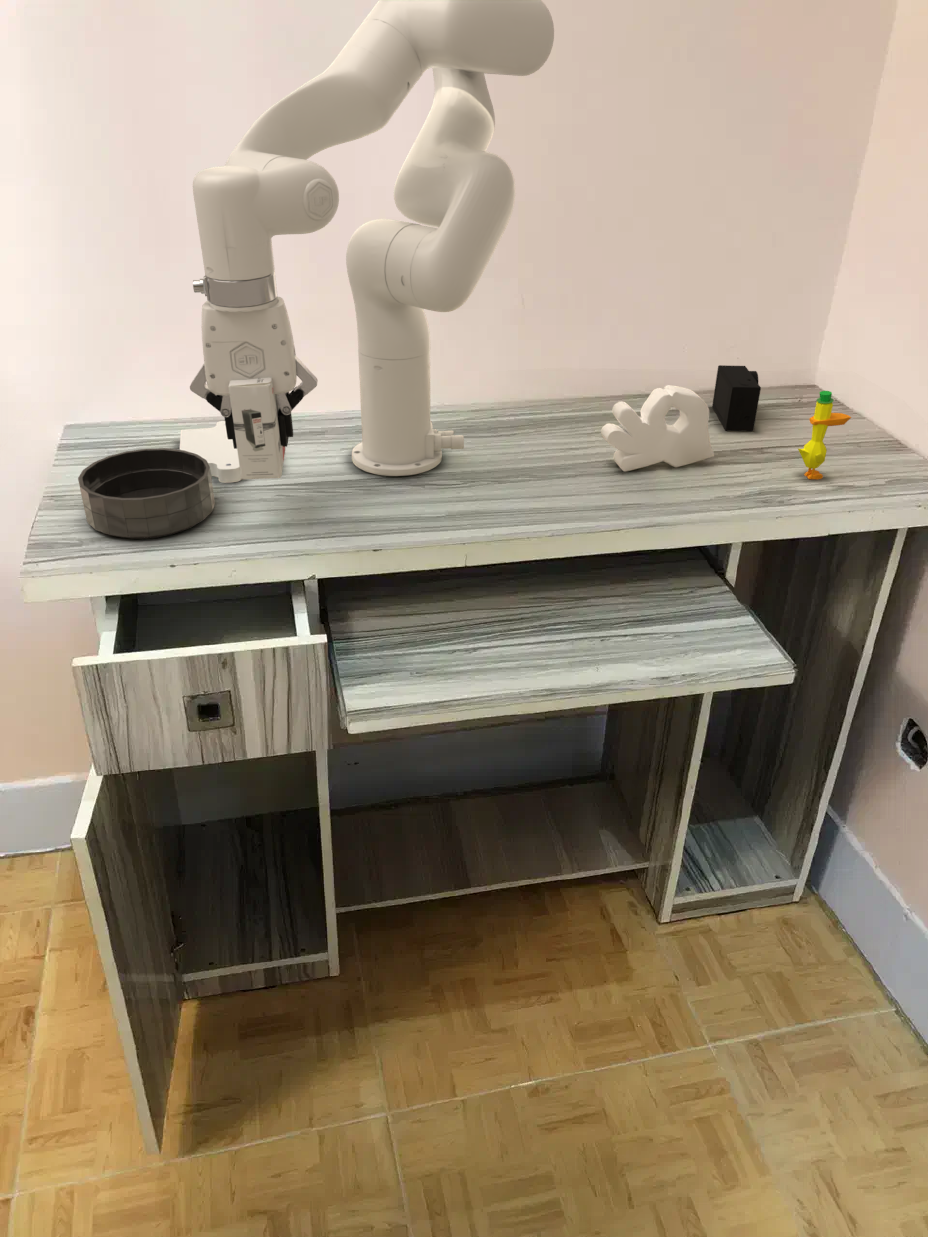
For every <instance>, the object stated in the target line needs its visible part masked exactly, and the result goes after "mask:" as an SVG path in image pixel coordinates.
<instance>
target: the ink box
mask: <svg viewBox="0 0 928 1237" xmlns="http://www.w3.org/2000/svg"><path fill="white" fill-rule="evenodd" d="M229 394H230V401H231V408H232V415H233V422H234V429H235V437H236V444H237V452H238V459H239V466H240V474H241V480H266V479H281V478H282V475H283V468H284V461H285V455H286V454H285V453H286V447H283V446H281V442H280V433H279V425H278V412H279V404H278V402H277V400H276V397H275V394H274V392H273V384H272V378H257V379H247V380H231V381H230V384H229Z"/></svg>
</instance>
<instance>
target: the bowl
mask: <svg viewBox="0 0 928 1237" xmlns="http://www.w3.org/2000/svg"><path fill="white" fill-rule="evenodd" d="M77 481H78V485H79V491H80V495H81V500H82V505H83V509H84V514H85V520H86V523H87V524H88V525H89V526H90V527H92V528H93V529H94V530H95V531H98V532H100V533H103V534H105V535H108V536H112V537H116V538H120V539H131V540H144V539H145V540H146V539H157V538H163V537H167V536H171V535H175V534H179V533H181V532H184V531H187V530H189V529H191V528H193V527H195V526H196V525H198V524H199V523H201V522H203V521H204V520H205V519H206V518H207V517H208V516H209V515H211V513H212V512H213V511H214V507H215V504H216V501H215V493H214V486H213V485H214V484H213V476H211V469H210V466H209V464H208V462H207V460H205V459H204V458H202V457H201V456H199V455H198V454H195V453H191V452H188V451H184V450H180V449H175V448H166V447H165V448H159V447H157V448H141V449H134V450H126V451H122V452H119V453H115V454H110V455H108V456H105V457H103V458H101V459H98V460H96V461H94V462H92V463H91V464H89V465H88V466H86V467H85V468H83V470H81V473H80V474H79V476H78V478H77Z"/></svg>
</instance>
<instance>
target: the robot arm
mask: <svg viewBox="0 0 928 1237" xmlns="http://www.w3.org/2000/svg"><path fill="white" fill-rule="evenodd" d="M554 41H555V25H554V21H553V17H552V15H551V12H550V10H549V8H548V6H547V5H546V3H545V2H544V1H543V0H378V1H377V2H376V3H375V5H374V6H373V8H372V9H371V10H370V11H369V12H368V14H367V15H366V17H365V18H364V19H363V21H362V22H361V24H360V25H359V26H358V27H357V29H356V30H355V31H354V33H353V34H352V36H350V38H349V39H348V41H347V42H346V44H345V45H344V46H343V47H342V49H341V50H340V51H339V53H338V55H336V57H335V58H334V60H332V62H331V63H330V65H329V66H327V68H326V69H325V70H324V71H322V72H321V73H319V74H318V75H316V76H314V77H313V78H311V79H309V80H308V81H306V82H304V83H303V84H302V85H300V86H299V87H298V88H296V89H294V90H293V91H291V92H290V93H288V94H287V95H285V96H284V97H282V98H281V99H279V100H278V101H277V102H275V103H274V104H272V105H271V106H270V107H268V108H267V109H266V110H265V111H264V112H262V113H261V115H259V116H258V117H257V118H256V119H255V121H254V122H253V123H252V124H250V127H249V128H248V129H247V130H246V132H245V133H244V134H243V135H242V137H241V138H240V139H239V141H238V142H237V144H236V145H235V147H234V148H233V149H232V150H231V152H230V154H229V155H228V157H227V160H226V162H225V163H224V165H223V166H222V165H221V166H219V165H218V166H213V167H208V168H204V169H201V170H200V171H198V172H197V173H196V174H195V175H194V177H193V180H192V193H193V195H192V196H193V201H194V207H195V214H196V221H197V229H198V234H199V241H200V248H201V255H202V262H203V263H202V264H203V268H204V276H203V278H199V279H193V280H192V288H193V293H195V294H199V293H200V294H202V295H205V297H206V301H205V302H204V303H203V304H202V307H201V342H202V354H203V364H202V366H201V367H200V369H199V370H198V371H197V373H196V375H195V376H194V378H193V379H192V381H191V383H190V385H189V389H190V391H191V392H192V393H194V394H195V395H197V396H199V398H201V399H204V400H206V402H207V403H208V404H210V405H211V407H213V408H214V409H216V410H217V411H218V412H219V413H220V416H221V417H223V418H224V421H225V424H226V431H227V438H228V439H233V446H234V449H237V444H236V437H235V429H234V422H233V415H232V408H231V401H230V394H229V384H230V381H231V380H247V379H257V378H272V384H273V392H274V394H275V397H276V400H277V402H278V404H279V412H278V425H279V433H280V442H281V446H283V447H285V448H286V447H288V444H289V438H294V425H293V417H292V416H293V415H292V411H293V410H295V408H296V407H297V406H298V405H299V403H301V402H302V400H303V398H304V397H306V396H307V395H308V394H310V393H311V392H312V391H313V390H314V389H315V388H316V387H317V386H318V377H317V376H316V375H315V374H314V373H313V372H312V371H311V370H310V369H309V368H308V367H307V366H306V365H305V364H304V363H303V361H301V360H300V359H299V357H298V356H297V355H296V354H297V353H296V348H295V341H294V335H293V330H292V325H291V321H290V317H289V314H288V310H287V306H286V304H285V300H284V298H283V297H281V296H278V289H277V279H276V277H277V276H276V270H275V269H276V268H275V260H274V259H275V258H274V251H273V250H274V249H273V241H272V238H273V237H275V236H283V235H306V234H313V233H315V232H318V231H320V230H322V229H323V228H325V227H326V226H327V225H328V224H329V223H330V222H331V221H332V220H333V218H334V217H335V215H336V213H337V211H338V208H339V204H340V192H339V187H338V184H337V182H336V180H335V178H334V176H333V175H332V173H331V172H330V171H328V169H326V168H325V167H324V166H322V165H321V164H319V163H317V162H314V161H312V160H309V159H310V158H311V157H313V156H314V155H316V154H318V153H320V152H322V151H324V150H327V149H329V148H332V147H335V146H338V145H339V146H340V145H343V144H346V143H349V142H353V141H357V140H359V139H362V138H364V137H366V136H367V137H368V136H369V135H371V134H374V133H376V132H378V131H380V130H381V129H383V128H384V127H385V126H386V125H388V123H389V122H390V121H391V119H392V118H393V116H394V115H395V113H396V112H397V110H398V109H399V108H400V107H401V105H402V103H403V102H404V101H405V100H406V98H407V97H408V95H409V94H410V92H411V90H413V88H414V87H415V85H416V84H417V83H418V81H419V80H420V79H421V77H422V76H423V75H424V73H425V72H426V71H428V70H429V69H432V75H433V85H434V93H433V94H434V95H433V101H432V104H431V108H430V110H429V112H428V115H427V116H426V118H425V121H424V123H423V125H422V127H421V129H420V130H419V132H418V134H417V136H416V138H415V140H414V141H413V143H412V146H411V148H410V150H409V151H408V154H407V155H406V158H405V160H404V161H403V163H402V165H401V168H400V170H399V172H398V174H397V177H396V180H395V183H394V186H393V200H394V204H395V206H396V208H397V210H398V211H399V212H400V214H401V215H402V216H404V217H405V218H407V219H408V220H410V221H412V222H409V221H403V220H397V219H390V218H389V219H388V218H380V219H379V218H378V219H373V220H369V221H367V222H365V223H363V224H361V225H360V226H358V227H357V228H356V229H355V231H354V232H353V233H352V235H351V237H350V239H349V241H348V244H347V247H346V254H345V264H346V271H347V272H346V273H347V278H348V283H349V287H350V290H351V294H352V299H353V304H354V310H355V318H356V330H357V353H358V355H357V356H358V376H359V377H358V378H359V399H360V422H361V425H360V426H361V441H360V442H359V443H357V444H356V445H355V446H354V447H353V448H352V450H351V462H352V463H353V464H354V465H355V466H356V468H358V469H359V470H362V471H364V472H366V473H369V474H374V475H378V476H386V477H406V476H413V475H414V476H415V475H418V474H423V473H426V472H428V471H430V470H432V469H434V468H436V467H437V466H438V465H440V463H441V462H442V460H443V459H442V458H443V456H442V455H443V452H442V450H444V449H446V450H448V449H450V450H464V449H465V436H464V435H463V434H456V435H455V430H440V431H439V430H437V429H436V428H435V429H434V426H433V421H432V420H431V418H432V417H431V331H430V325H429V322H428V318H427V314H426V312H425V310H427V311H431V312H437V313H450V312H453V311H456V310H458V309H460V308H461V307H462V306H463V305H464V304H466V302H467V301H468V300H469V298H470V297H471V296H472V294H473V293H474V291H475V289H476V287H477V286H478V284H479V282H480V281H481V279H482V276H483V274H484V272H485V271H486V269H487V267H488V265H489V263H490V261H491V259H492V257H493V255H494V253H495V251H496V249H497V247H498V245H499V243H500V241H501V240H502V237H503V235H504V234H505V231H506V229H507V227H508V225H509V223H510V220H511V217H512V214H513V212H514V207H515V200H516V181H515V180H516V179H515V176H514V173H513V170H512V168H511V167H510V165H509V164H508V162H507V161H506V160H505V158H502V156H499V155H498V154H496V153H494V152H491V151H487V150H488V148H489V146H490V143H491V142H492V139H493V136H494V133H495V130H496V129H495V128H496V116H495V109H494V106H493V103H492V99H491V95H490V92H489V88H488V84H487V81H486V77H485V74H486V75H501V76H513V77H514V76H515V77H516V76H517V77H525V76H530V75H532V74H535V73H536V72H538V71H539V70H540V69H541V68H542V67H543V66H544V65H545V63H546V62H547V61H548V59H549V57H550V55H551V53H552V50H553V46H554ZM414 222H415V223H414ZM297 377H298V378H299V380H300V381H301V382H300V383H299V384H298V385H297V386H296V384H297V379H298V378H297Z"/></svg>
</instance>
